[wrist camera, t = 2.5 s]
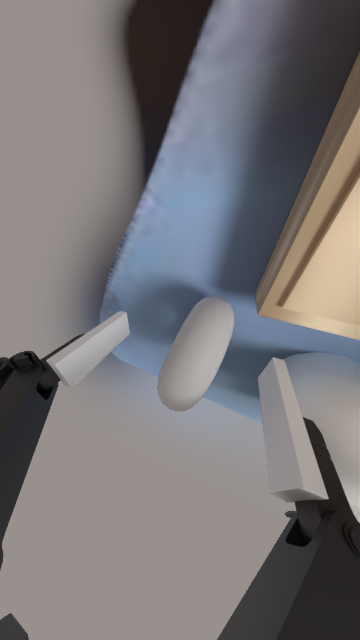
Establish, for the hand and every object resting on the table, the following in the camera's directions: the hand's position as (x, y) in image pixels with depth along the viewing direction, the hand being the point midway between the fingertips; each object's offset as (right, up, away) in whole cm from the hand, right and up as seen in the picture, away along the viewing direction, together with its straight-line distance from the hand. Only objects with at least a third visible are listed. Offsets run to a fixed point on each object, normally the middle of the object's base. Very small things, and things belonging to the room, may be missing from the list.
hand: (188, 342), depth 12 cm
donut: (+3, +2, +4) cm, 5 cm away
